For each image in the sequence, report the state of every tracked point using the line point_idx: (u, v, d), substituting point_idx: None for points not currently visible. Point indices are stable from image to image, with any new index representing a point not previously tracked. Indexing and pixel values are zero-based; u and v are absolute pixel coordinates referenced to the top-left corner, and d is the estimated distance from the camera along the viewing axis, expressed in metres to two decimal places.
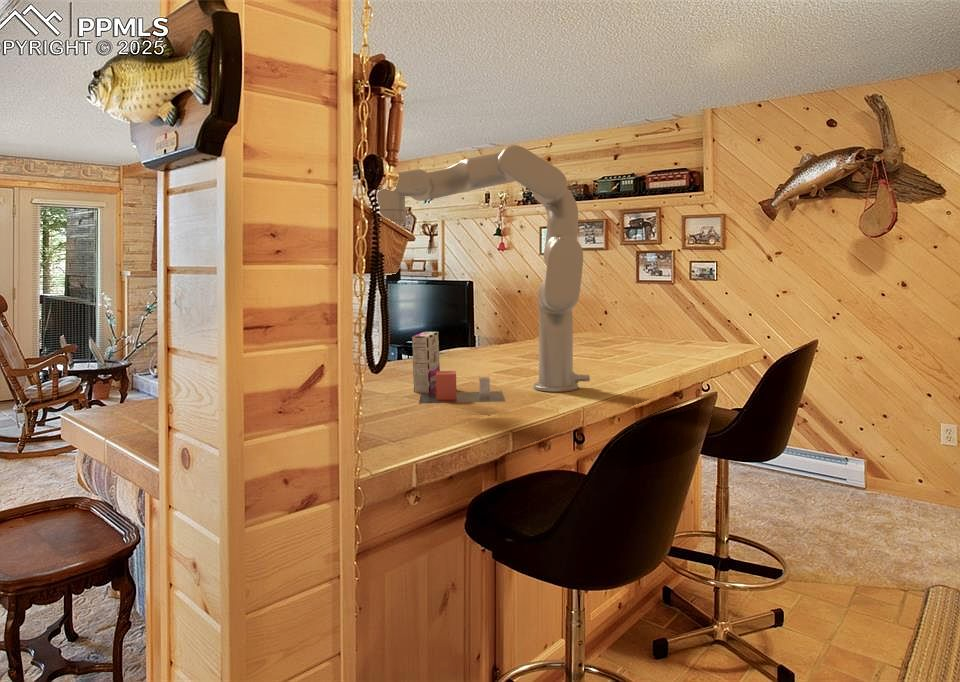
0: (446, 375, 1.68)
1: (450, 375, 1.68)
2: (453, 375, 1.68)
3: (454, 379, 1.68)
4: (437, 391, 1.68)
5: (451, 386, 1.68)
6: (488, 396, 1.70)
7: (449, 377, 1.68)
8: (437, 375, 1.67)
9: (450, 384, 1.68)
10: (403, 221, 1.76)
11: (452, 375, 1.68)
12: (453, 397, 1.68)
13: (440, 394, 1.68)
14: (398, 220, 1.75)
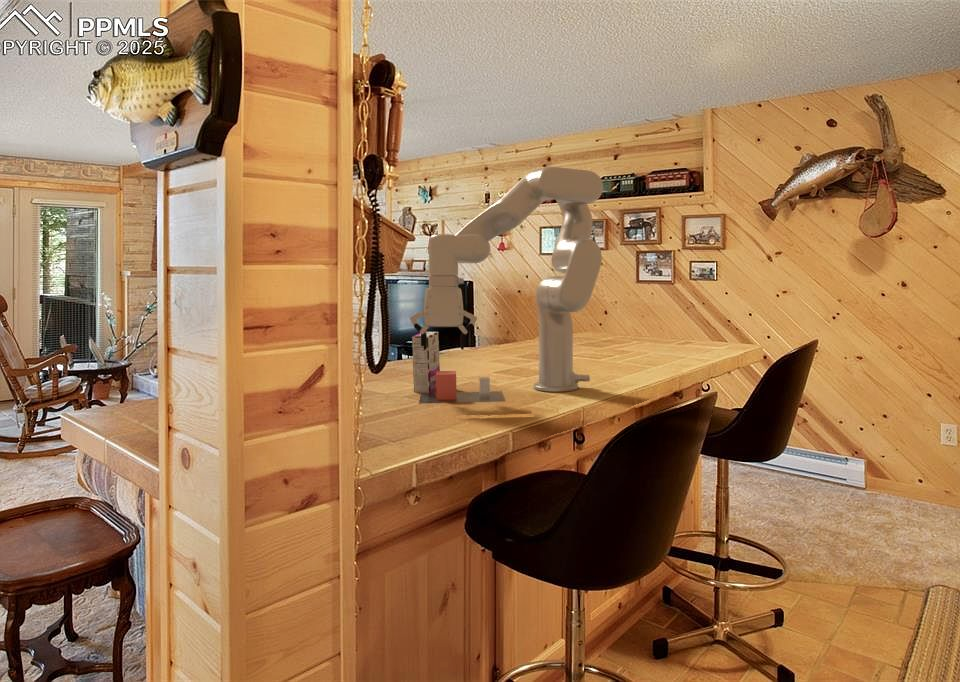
0: (446, 375, 1.68)
1: (450, 375, 1.68)
2: (453, 375, 1.68)
3: (454, 379, 1.68)
4: (437, 391, 1.68)
5: (451, 386, 1.68)
6: (488, 396, 1.70)
7: (449, 377, 1.68)
8: (437, 375, 1.67)
9: (450, 384, 1.68)
10: None
11: (452, 375, 1.68)
12: (453, 397, 1.68)
13: (440, 394, 1.68)
14: None
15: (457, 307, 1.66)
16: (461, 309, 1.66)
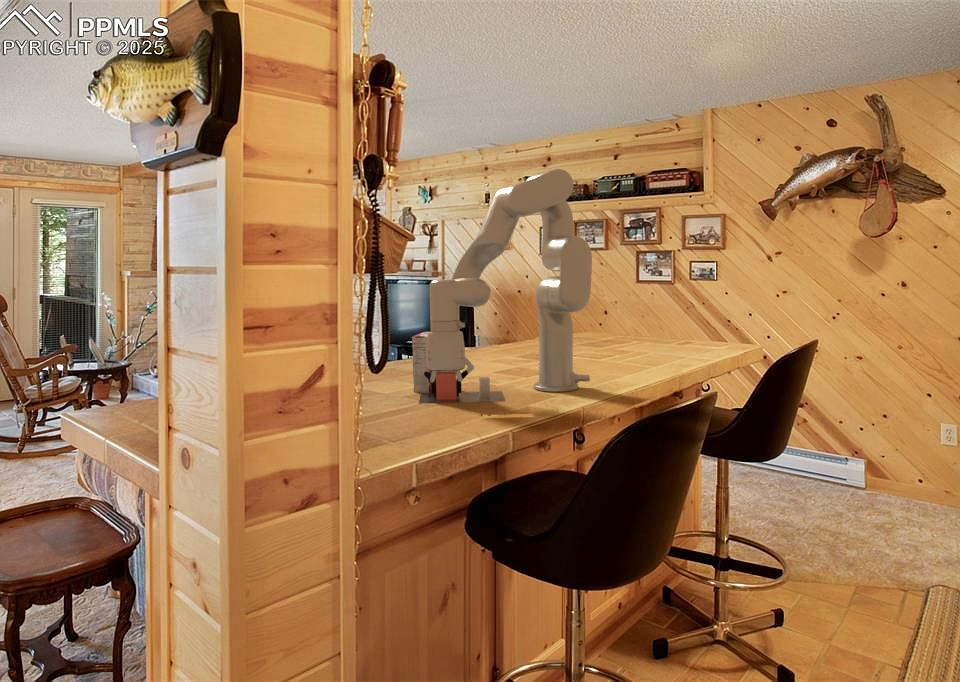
0: (446, 375, 1.68)
1: (450, 375, 1.68)
2: (453, 375, 1.68)
3: (454, 379, 1.68)
4: (437, 391, 1.68)
5: (451, 386, 1.68)
6: (488, 396, 1.70)
7: (449, 377, 1.68)
8: (437, 375, 1.67)
9: (450, 384, 1.68)
10: None
11: (452, 375, 1.68)
12: (453, 397, 1.68)
13: (440, 394, 1.68)
14: None
15: (459, 351, 1.67)
16: (463, 353, 1.68)
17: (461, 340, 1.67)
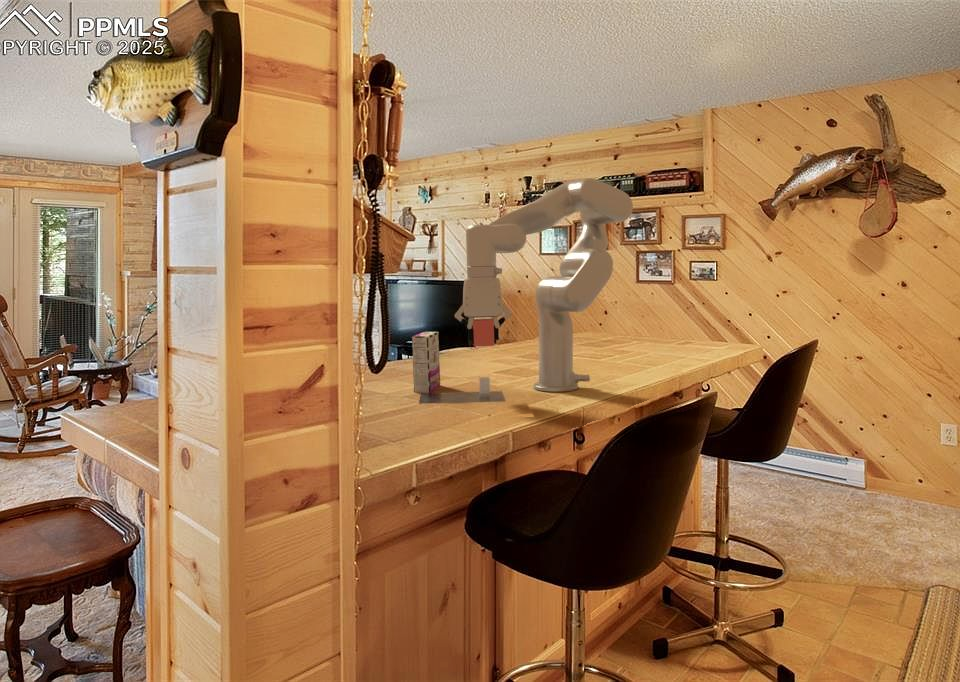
0: (484, 321, 1.66)
1: (488, 321, 1.66)
2: (491, 321, 1.67)
3: (492, 325, 1.67)
4: (475, 338, 1.67)
5: (489, 332, 1.67)
6: (488, 396, 1.70)
7: (487, 323, 1.67)
8: (474, 321, 1.66)
9: (488, 330, 1.67)
10: None
11: (490, 321, 1.67)
12: (491, 343, 1.67)
13: (477, 340, 1.67)
14: None
15: (496, 297, 1.66)
16: (500, 299, 1.67)
17: (498, 286, 1.66)
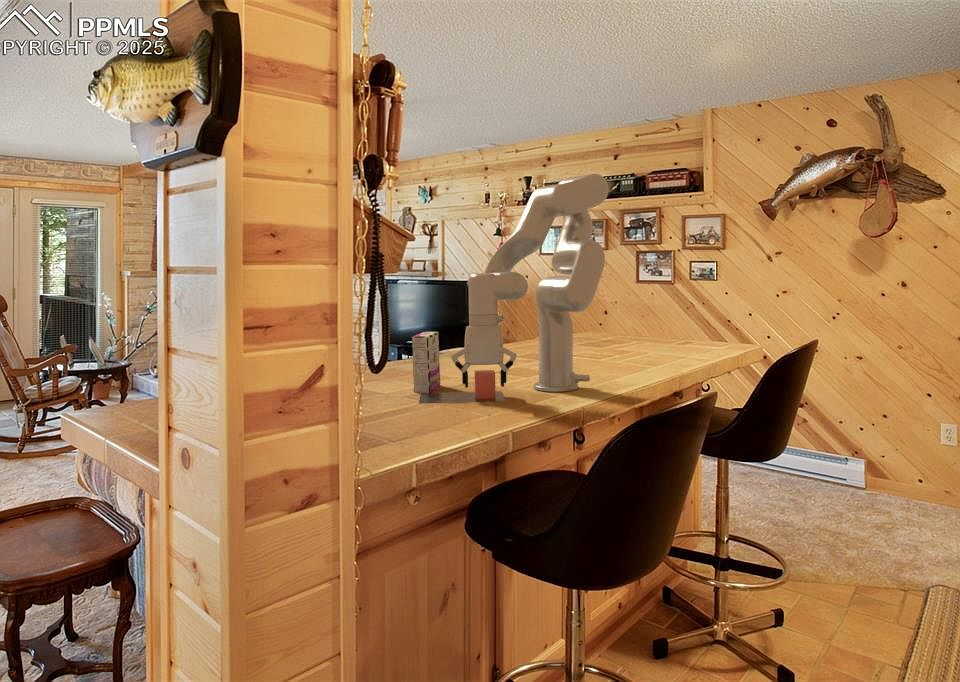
0: (485, 374, 1.68)
1: (489, 374, 1.68)
2: (492, 374, 1.68)
3: (493, 378, 1.68)
4: (476, 390, 1.68)
5: (490, 385, 1.68)
6: None
7: (488, 376, 1.68)
8: (476, 374, 1.68)
9: (489, 383, 1.68)
10: None
11: (491, 374, 1.68)
12: (492, 396, 1.69)
13: (479, 393, 1.68)
14: None
15: (498, 345, 1.68)
16: (501, 347, 1.68)
17: (500, 334, 1.68)
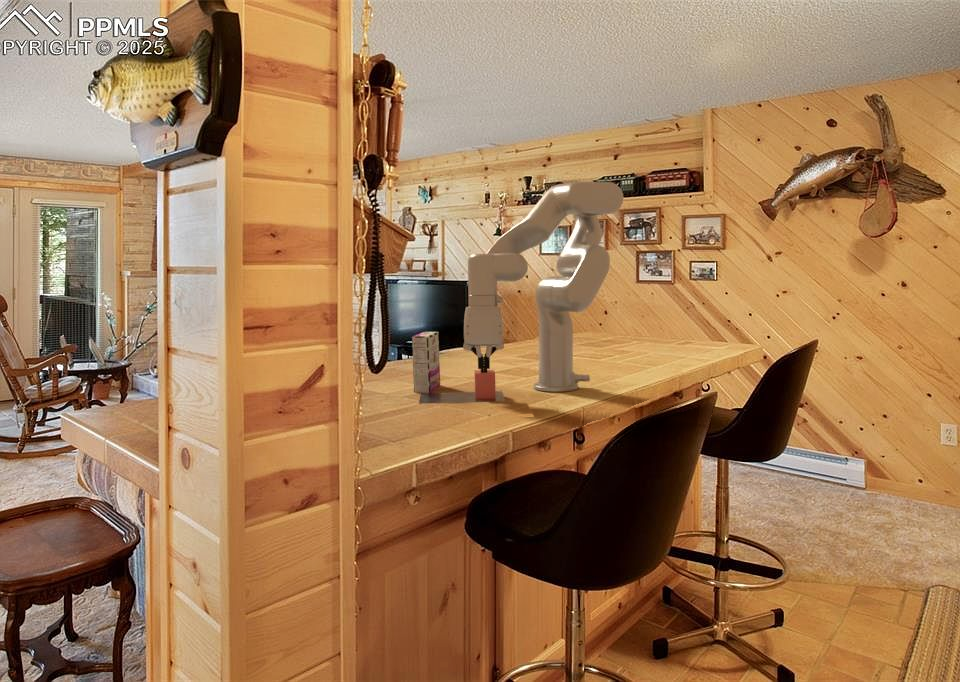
0: (485, 374, 1.68)
1: (489, 374, 1.68)
2: (492, 374, 1.68)
3: (493, 378, 1.68)
4: (476, 390, 1.68)
5: (490, 385, 1.68)
6: None
7: (488, 376, 1.68)
8: (476, 374, 1.68)
9: (489, 383, 1.68)
10: None
11: (491, 374, 1.68)
12: (492, 396, 1.69)
13: (479, 393, 1.68)
14: None
15: (497, 326, 1.67)
16: (501, 328, 1.67)
17: (499, 315, 1.67)
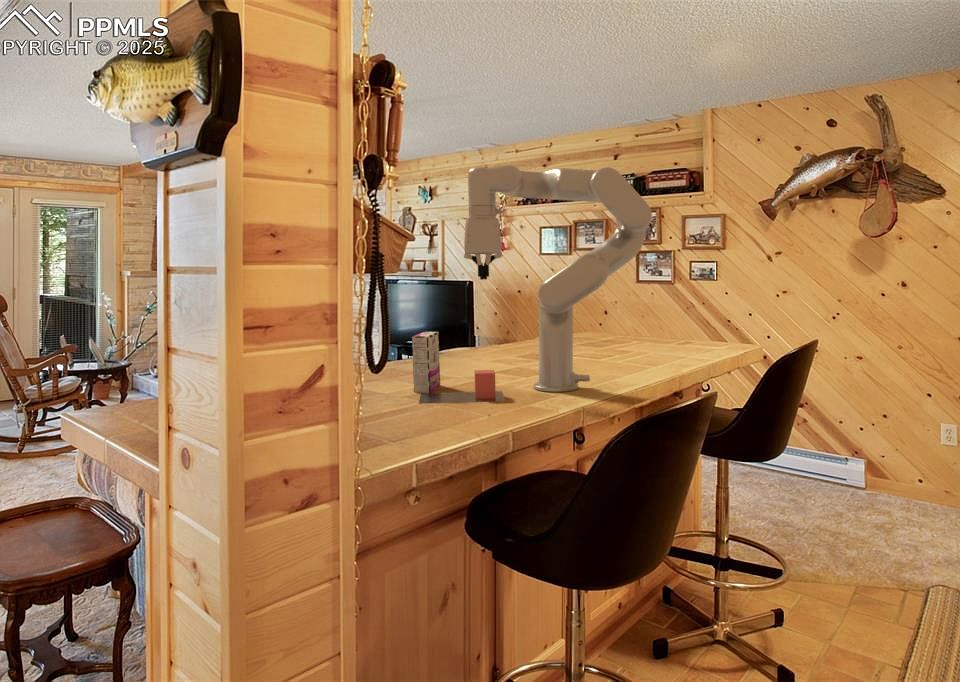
0: (485, 374, 1.68)
1: (489, 374, 1.68)
2: (492, 374, 1.68)
3: (493, 378, 1.68)
4: (476, 390, 1.68)
5: (490, 385, 1.68)
6: None
7: (488, 376, 1.68)
8: (476, 374, 1.68)
9: (489, 383, 1.68)
10: None
11: (491, 374, 1.68)
12: (492, 396, 1.69)
13: (479, 393, 1.68)
14: None
15: (496, 235, 1.80)
16: (499, 237, 1.81)
17: (498, 224, 1.80)
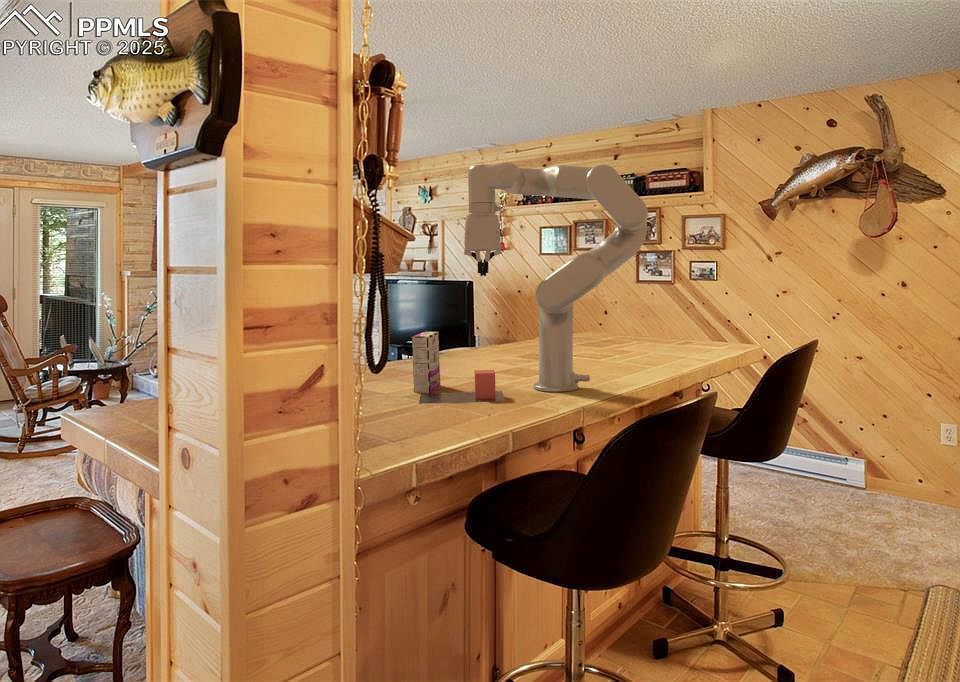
0: (485, 374, 1.68)
1: (489, 374, 1.68)
2: (492, 374, 1.68)
3: (493, 378, 1.68)
4: (476, 390, 1.68)
5: (490, 385, 1.68)
6: None
7: (488, 376, 1.68)
8: (476, 374, 1.68)
9: (489, 383, 1.68)
10: None
11: (491, 374, 1.68)
12: (492, 396, 1.69)
13: (479, 393, 1.68)
14: None
15: (495, 232, 1.82)
16: (499, 234, 1.82)
17: (497, 221, 1.82)
